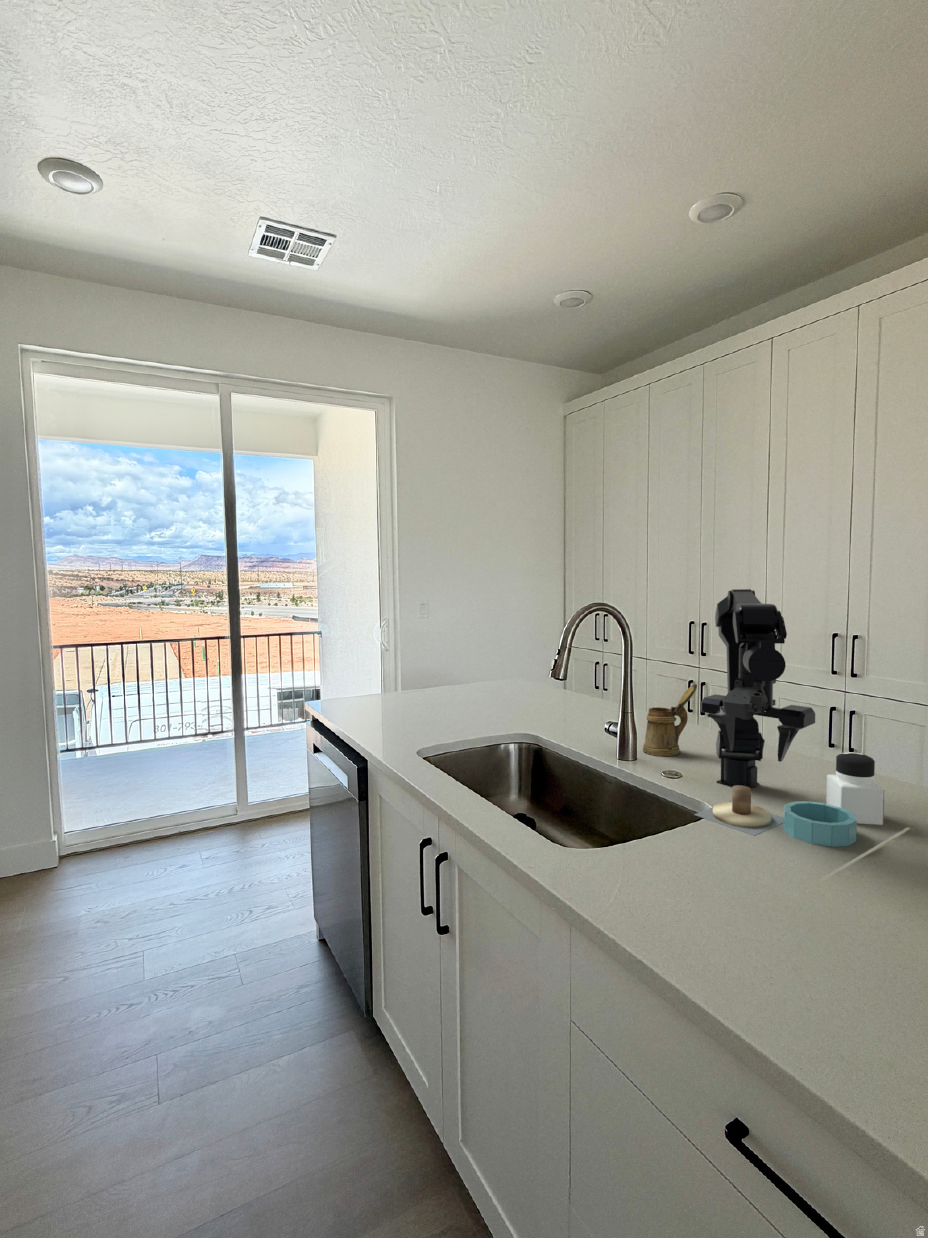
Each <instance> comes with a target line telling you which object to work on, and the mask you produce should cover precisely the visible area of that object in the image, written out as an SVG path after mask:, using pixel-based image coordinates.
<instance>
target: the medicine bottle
mask: <svg viewBox="0 0 928 1238" xmlns="http://www.w3.org/2000/svg"><path fill="white" fill-rule="evenodd" d="M835 761H836V762H835V774H830V773H829V774H827V776H826V804H829V805H833V806H837V807H840V808H843V809H845V810H847V811H849V812H851V813H853V814H854V815H855V818H856V820H857V824H865V825H880V826H882V825H884V815H885V811H884V810H885V788H884V787H883V786H882V785H880V784H879V783H877V782H876V781H875V765H876V764H875V763H876V762H875V760H874V759H873V758H872V757H871V756H869V755H866V754H863V753H860V752H842V753H838V754H837V755H836V757H835Z"/></svg>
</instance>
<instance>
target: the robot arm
mask: <svg viewBox="0 0 928 1238" xmlns="http://www.w3.org/2000/svg"><path fill="white" fill-rule="evenodd" d="M714 618H715V619H714V621H715V622H714V623H715V628H717V629H718V636H719V638H720V639H721V641H722V643H723V644H724V646H725V648H726V673H727V682H726V683H727V694H726V695H724V694H723V695H721V694H712V695H708V696H704V697H703V698H702V699H701V701H700V712H701V713H705V714H706V713H707V717H708V718H710V719H712V720H713V721H715V723H716V724H717V726H718V728H719V730H718V731H717V737H716V743H715V747H716V748H715V751H716V752H715V753H716V755H717V758H718V759H720V779H718V780H716V784H719V785H722V786H726V787H729V788H732V787H733V786H736V785H741V786H747V787H749V788H751V789H752V788H755V787H757V786H760V783H759V781H758V766H757V765H756V762H761V761H762V760H763V758H764V756H763V754H764V753H763V752H764V747H765V739H764V737H763V735H762V733H761V732H760V730H759V722H758V721H757V719H756V718H755V717H754V716H759V717H760V716H761V717H766V718H772V719H777V720H778V721H779V722H780V724H781V725H778V726H777V731H778V733H779V734H778V735H779V736H778V744H777V745H778V747H777V761H778V762H779V763H781V762H783V760H784V759H785V757H786V754H787V752H788V750H789V748H790V747H791V745H792V742H793V740H794V738H795V737H796V735H797V734H798V732H799V731H800V730H802V729H805V728H807V727H809V726H811V725H815V724H816V712H815V711H814V709H813V708H812V707H810V706H804V705H796V704H790V705H786V706H783V707H781V708H779V707H774V706H776V699H774V684H776V683H777V679H779V678H780V677H781V676H782V675H783V674H784V672H785V671H786V660H785V658H784V656H783V654H782V653H781V652H780V651H778V650H776V645H777V644H779V645H780V644H781V645H782V644H785V643H786V642H785V640H786V639H787V636H788V635H787V633H788V632H787V630H786V629H787V628H786V624H785V620H784V617H783V615H782V612H781V611H780V610H778V608H777V606H776V605H775V604H773V603H762V602H761V601H760V599H758V597H757V596H756V592H755V590H752V589H750V588H747V589H745V588H744V589H743V588H741V589H737V588H736V589H734V588H733V589H731V590H728V592H727V595H726V596H725V597H724V598H723V599H722V600H720V601H719V602H718V603H716V608H715V617H714Z"/></svg>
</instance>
